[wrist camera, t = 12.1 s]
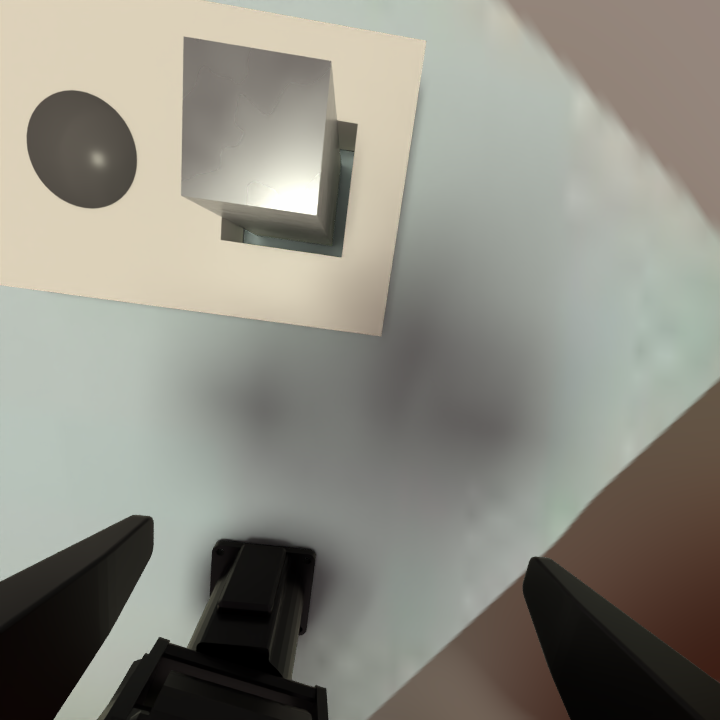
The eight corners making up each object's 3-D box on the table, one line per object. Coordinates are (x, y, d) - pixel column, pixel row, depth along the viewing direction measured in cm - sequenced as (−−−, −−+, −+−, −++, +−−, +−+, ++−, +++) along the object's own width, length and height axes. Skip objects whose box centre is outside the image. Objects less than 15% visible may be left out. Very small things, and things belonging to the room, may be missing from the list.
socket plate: (376, 328, 19) (381, 336, 16) (44, 283, 18) (-18, 283, 15) (413, 84, 16) (426, 39, 13) (28, 18, 15) (-51, -47, 12)
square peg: (332, 246, 18) (316, 215, 10) (257, 235, 18) (180, 195, 10) (341, 164, 17) (331, 60, 9) (262, 152, 17) (183, 36, 9)
